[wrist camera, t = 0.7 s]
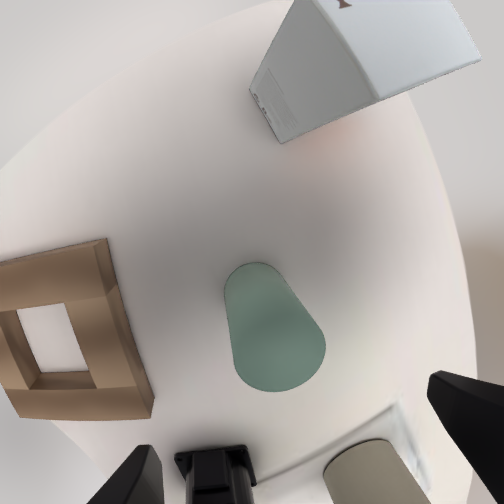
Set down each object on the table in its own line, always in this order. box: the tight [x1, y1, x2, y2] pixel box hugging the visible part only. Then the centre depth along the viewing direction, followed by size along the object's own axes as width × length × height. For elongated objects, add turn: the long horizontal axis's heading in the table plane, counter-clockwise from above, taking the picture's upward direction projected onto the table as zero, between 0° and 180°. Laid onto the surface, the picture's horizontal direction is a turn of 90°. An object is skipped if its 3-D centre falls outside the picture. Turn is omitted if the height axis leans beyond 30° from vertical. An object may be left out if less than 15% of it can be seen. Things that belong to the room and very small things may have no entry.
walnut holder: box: [0, 238, 155, 421], centre depth 18 cm, size 12×12×2 cm
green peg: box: [224, 263, 326, 392], centre depth 17 cm, size 4×4×8 cm
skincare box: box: [249, 0, 482, 143], centre depth 13 cm, size 6×4×12 cm
